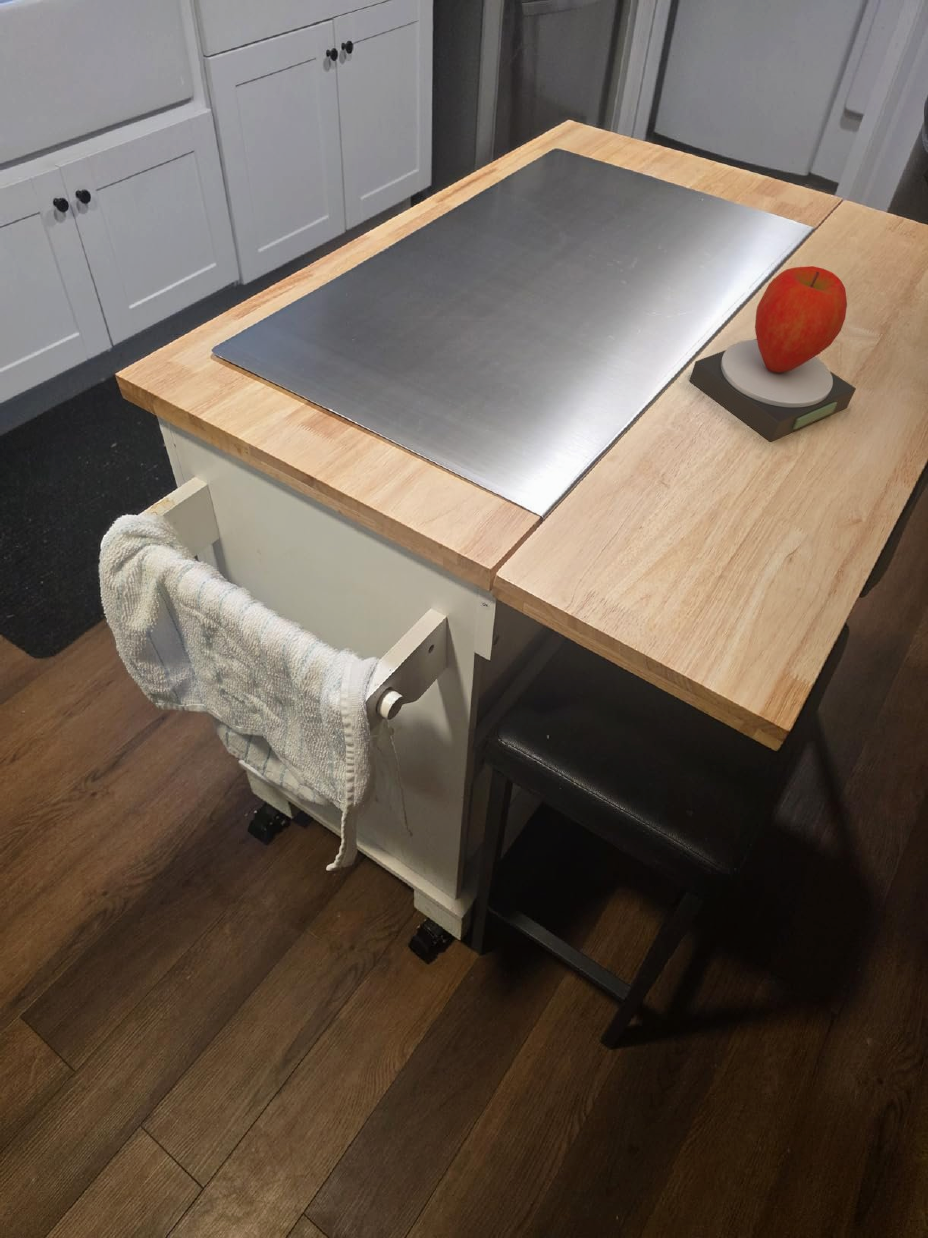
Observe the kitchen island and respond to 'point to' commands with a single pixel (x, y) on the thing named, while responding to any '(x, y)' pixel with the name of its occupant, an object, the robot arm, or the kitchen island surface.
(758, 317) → the apple
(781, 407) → the kitchen scale
